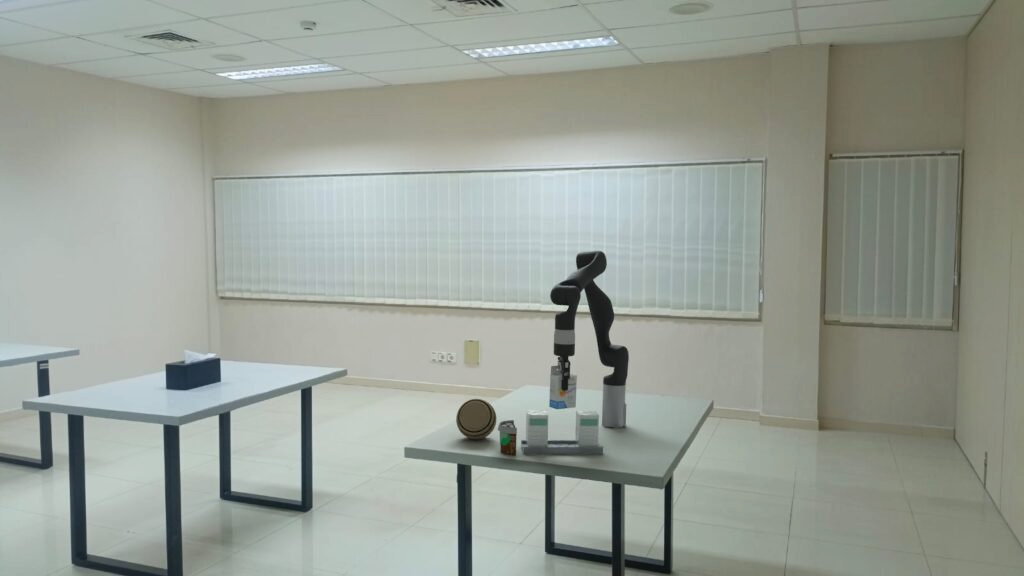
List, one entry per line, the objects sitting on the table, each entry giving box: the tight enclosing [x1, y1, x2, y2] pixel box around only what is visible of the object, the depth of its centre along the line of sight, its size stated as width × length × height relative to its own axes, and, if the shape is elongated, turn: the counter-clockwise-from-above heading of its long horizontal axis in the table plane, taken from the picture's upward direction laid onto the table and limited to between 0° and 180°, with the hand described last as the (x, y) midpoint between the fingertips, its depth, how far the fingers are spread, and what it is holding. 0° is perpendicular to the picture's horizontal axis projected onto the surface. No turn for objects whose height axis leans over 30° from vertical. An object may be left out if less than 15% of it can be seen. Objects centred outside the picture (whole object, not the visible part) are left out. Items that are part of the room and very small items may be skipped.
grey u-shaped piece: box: [520, 410, 604, 455], centre depth 262 cm, size 28×10×14 cm, turn 94°
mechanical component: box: [455, 398, 497, 440], centre depth 276 cm, size 15×15×15 cm
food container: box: [497, 419, 518, 457], centre depth 259 cm, size 12×6×10 cm, turn 5°
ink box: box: [548, 365, 578, 410], centre depth 261 cm, size 8×5×15 cm, turn 123°
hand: (563, 388), depth 261 cm, fingers closed on ink box, 6 cm apart
